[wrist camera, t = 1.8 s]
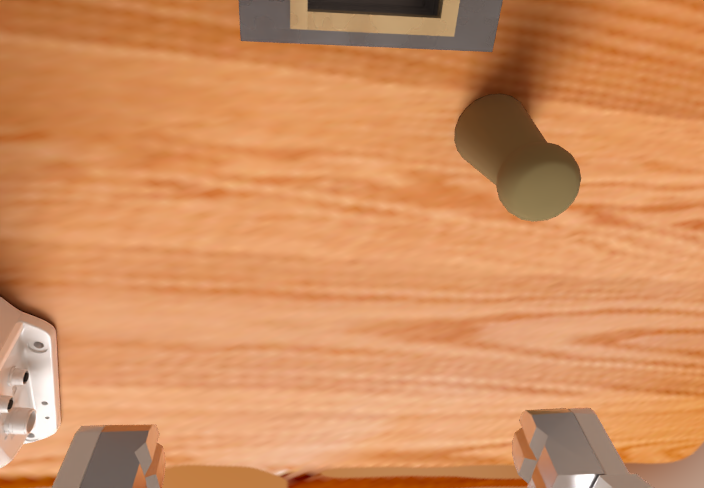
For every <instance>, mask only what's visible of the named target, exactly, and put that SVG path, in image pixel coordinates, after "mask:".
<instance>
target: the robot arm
mask: <svg viewBox="0 0 704 488" xmlns="http://www.w3.org/2000/svg"><path fill="white" fill-rule="evenodd" d="M40 342H41V343H40ZM519 421H520V424H521V426H522V428H521V429H519V430H518V431H517V432H515V434H514V438H513V441H512V454H513V459H514V464H515V467H516V469H517V472H518V475H519V476H520V477H521V478H523V479H524V480H525V481H526V482H527V483H528V487H527V488H654V487H653V486H652V485H650V484H649V483H648V482H646V481H645V480H644V479H642V478H641V477H640V476H639V475H637V474H635V473H634V474H632V473H629V472H628V470H627V468H626V467H625V465H624V463H623V461H622V459H621V458H620V456H619V454H618V452H617V451H616V449H615V447H614V445H613V443H612V442H611V440H610V438H609V436H608V435H607V433H606V431H605V429H604V428H603V426H602V424H601V422H600V420H599V419H598V417H597V415H596V413H595V412H594V411H593V410H592V409H591V408H574V409H566V408H560V409H541V410H525V411H524V412H523V413H522V414H521V417H520V420H519ZM60 424H61V414H60V396H59V377H58V359H57V340H56V330H55V328H54V327H53V326H52V325H51V324H50V323H48V322H46V321H44V320H42V319H40V318H38V317H35V316H32V315H30V314H27V313H24V312H22V311H20V310H18V309H17V308H15V307H14V306H12V305H11V304H10V303H8V302H7V301H6V300H4V299H3V298H1V297H0V468H2V467H4V466H5V465H7V464H8V463H9V462H11V461H12V460H13V459H14V458H15V456H16V455H17V453H18V452H19V450H20V449H21V447H22V445H23V444H26V443H31V442H35V441H38V440H41V439H44V438H47V437H49V436H51V435H53V434H54V433H56V432H57V430H58V428H59V427H60ZM158 437H159V431H158V428H157V425H97V426H81V427H80V428H79V430H78V431H77V432H76V433H75V435H74V437H73V440H72V442H71V444H70V447H69V449H68V451H67V454H66V456H65V458H64V460H63V463H62V465H61V467H60V470H59V472H58V474H57V477H56V479H55V481H54V484H53V486H52V488H162V485H163V480H164V472H165V453H164V449H163V446H161V445H160V444H158V443H157V441H158Z"/></svg>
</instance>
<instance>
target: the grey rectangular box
mask: <svg viewBox="0 0 704 488" xmlns="http://www.w3.org/2000/svg"><path fill="white" fill-rule="evenodd" d="M502 1H503V0H239V15H240V35H241V41H254V42H277V43H300V44H323V45H346V46H369V47H392V48H415V49H437V50H460V51H483V52H492V50H493V45H494V41H495V36H496V31H497V26H498V21H499V16H500V11H501V6H502Z"/></svg>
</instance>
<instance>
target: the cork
mask: <svg viewBox="0 0 704 488" xmlns="http://www.w3.org/2000/svg"><path fill="white" fill-rule="evenodd" d="M454 141H455V144H456V147H457V151H458V152H459V153H460V154H461V156H462V157H463V158H464V159H465V160H466V161H467V162H468V163H470V164H471V165H472V166H473V167H475V168H476V169H477V170H478V171H479V172H481V173H482V174H483V175H484V176H485V177H487V178H488V179H489V180H490V181H491V182H493V183H494V184H495V185H496V187H497V192H498V195H499V199H500V201H501V202H502V204H503V205H504V206H505V208H506V209H507V210H508V212H510V213H511V214H513V215H515V216H517V217H518V218H520V219H522V220H527V221H543V220H548V219H551V218H553V217H556V216H558V215H559V214H561V213H562V212H564V211H565V210H566V209H567V208H568V207H569V206H570V205H571V204H572V203H573V201H574V200H575V198H576V196H577V194H578V191H579V186H580V181H581V175H580V169H579V166H578V164H577V162H576V161H575V159H574V158H573V156H572V155H571V154H570V153H569V152H568V151H566V150H565V149H563V148H562V147H560V146H559V145H555V144H552V143H547V142H546V140H545V139H544V137H543V136H542V134H541V133H540V131H539V130H538V128H537V127H536V125H535V124H534V122H533V121H532V119H531V118H530V116H529V115H528V113H527V112H526V110H525V109H524V107H523V106H522V104H521V103H520V102H519V101H518V100H516V99H515V98H513V97H512V96H508V95H504V94H492V95H487V96H485V97H482V98H480V99H477V100H476V101H475V102H473V103H472V104H471V105H470V106H468V107H467V108H466V109H465V111H464V112H463V113H462V115H461V116H460V118H459V120H458V122H457V125H456V128H455V139H454Z"/></svg>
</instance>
